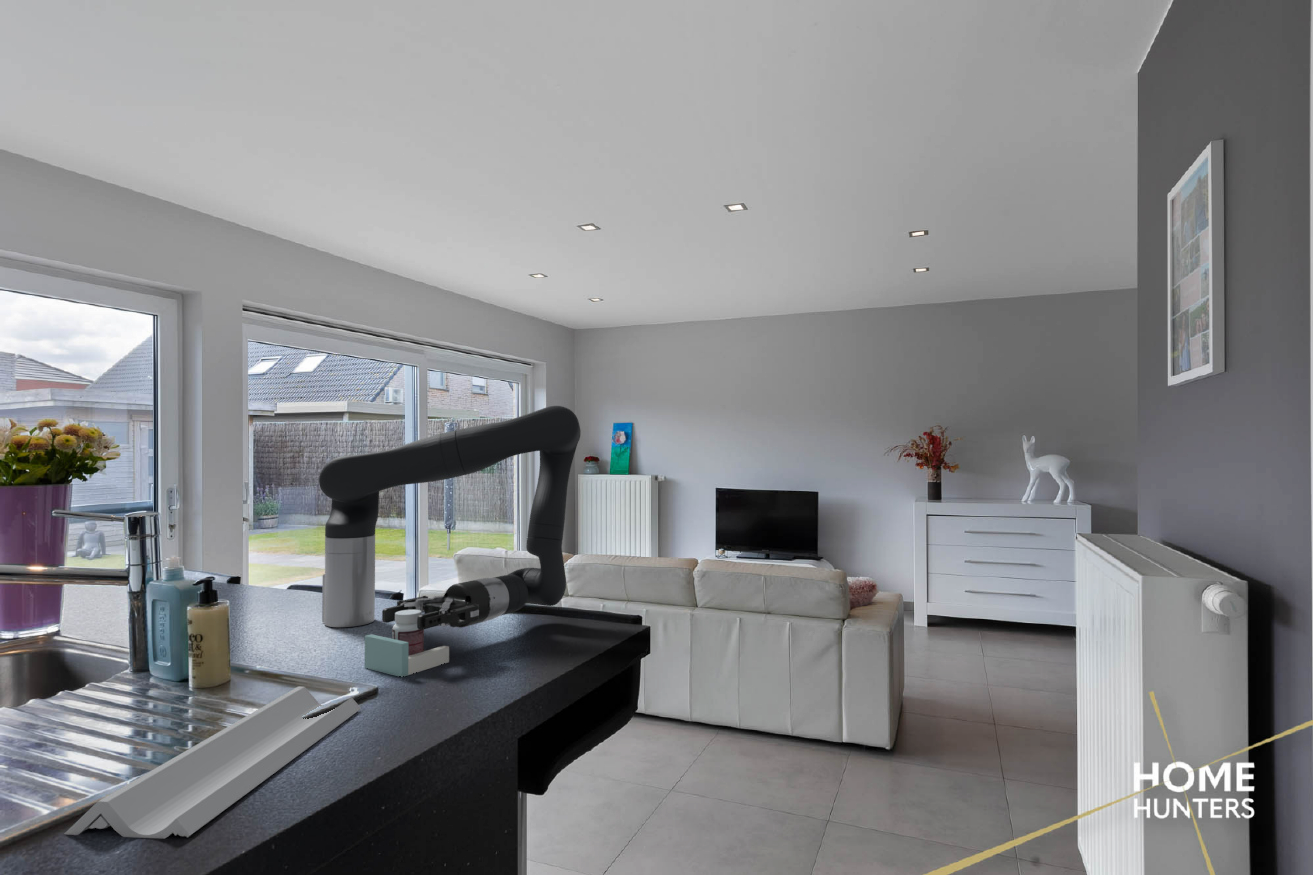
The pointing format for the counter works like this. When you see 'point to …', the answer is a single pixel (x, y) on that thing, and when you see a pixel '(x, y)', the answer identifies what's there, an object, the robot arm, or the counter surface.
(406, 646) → the u-shaped bracket
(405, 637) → the pill bottle
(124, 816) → the crown molding
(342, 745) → the counter surface
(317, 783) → the counter surface
